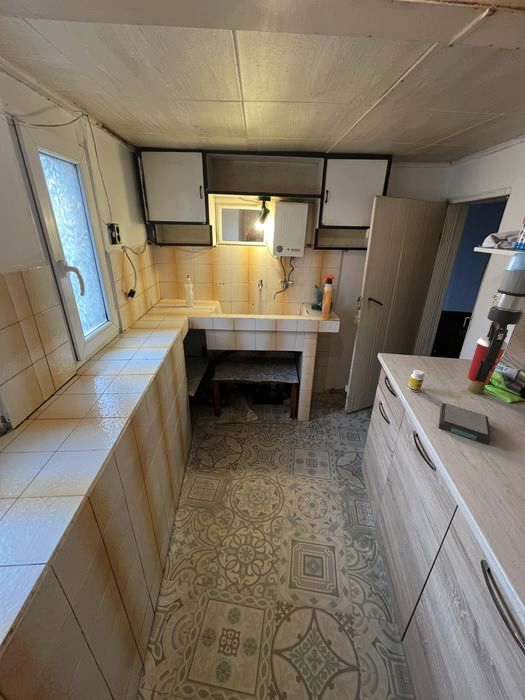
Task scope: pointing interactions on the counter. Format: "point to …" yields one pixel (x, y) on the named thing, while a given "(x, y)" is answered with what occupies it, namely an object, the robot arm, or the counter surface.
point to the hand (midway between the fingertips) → (479, 376)
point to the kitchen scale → (465, 423)
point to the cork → (476, 388)
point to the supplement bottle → (416, 381)
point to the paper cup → (480, 355)
